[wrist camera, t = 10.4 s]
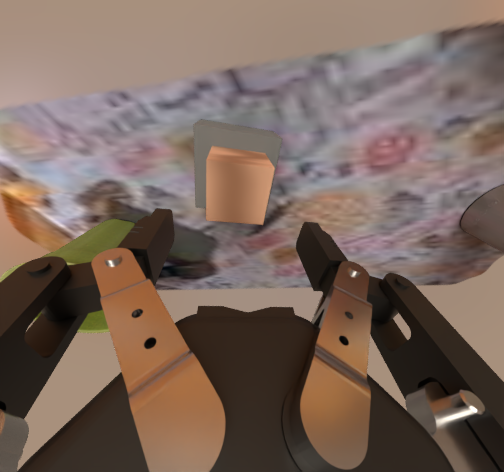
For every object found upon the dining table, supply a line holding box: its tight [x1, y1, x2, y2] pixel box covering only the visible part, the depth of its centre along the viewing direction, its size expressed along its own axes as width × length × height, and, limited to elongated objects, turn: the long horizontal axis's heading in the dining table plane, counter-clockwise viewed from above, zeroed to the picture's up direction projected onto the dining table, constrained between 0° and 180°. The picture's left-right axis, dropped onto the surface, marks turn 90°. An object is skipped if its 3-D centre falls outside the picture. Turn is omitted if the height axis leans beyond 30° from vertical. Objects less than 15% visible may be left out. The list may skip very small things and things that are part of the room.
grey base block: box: [193, 119, 282, 214], centre depth 21 cm, size 8×8×5 cm
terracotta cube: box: [206, 146, 275, 225], centre depth 17 cm, size 5×5×5 cm
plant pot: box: [0, 219, 135, 333], centre depth 24 cm, size 12×12×11 cm
